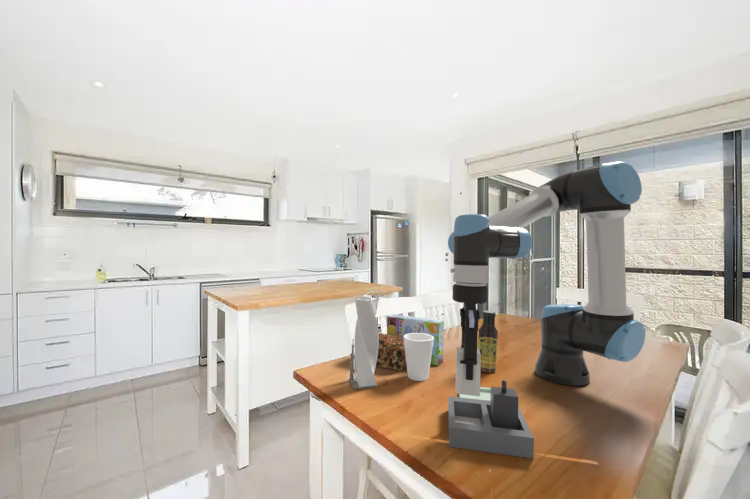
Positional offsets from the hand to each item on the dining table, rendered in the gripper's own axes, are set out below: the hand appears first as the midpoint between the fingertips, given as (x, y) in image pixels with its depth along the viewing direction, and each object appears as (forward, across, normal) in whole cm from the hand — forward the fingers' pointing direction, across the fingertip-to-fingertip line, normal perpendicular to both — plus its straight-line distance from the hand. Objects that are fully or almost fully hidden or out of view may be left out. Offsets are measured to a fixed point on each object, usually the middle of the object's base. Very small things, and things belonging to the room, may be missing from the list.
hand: (467, 388), depth 70 cm
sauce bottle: (+9, -38, +9) cm, 40 cm away
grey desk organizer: (+9, 0, +4) cm, 10 cm away
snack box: (+10, -44, -16) cm, 48 cm away
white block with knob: (+1, 0, 0) cm, 1 cm away
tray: (+9, -15, +4) cm, 18 cm away
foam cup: (+10, -26, -13) cm, 31 cm away
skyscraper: (+10, -18, -28) cm, 35 cm away
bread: (+10, -37, -26) cm, 46 cm away
